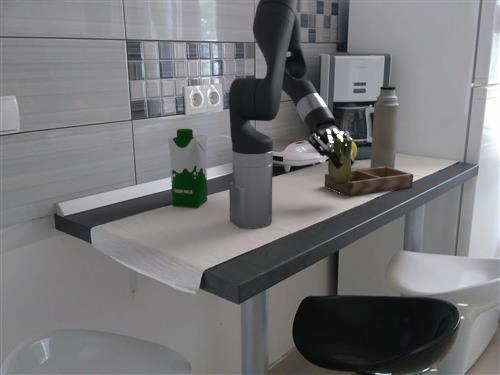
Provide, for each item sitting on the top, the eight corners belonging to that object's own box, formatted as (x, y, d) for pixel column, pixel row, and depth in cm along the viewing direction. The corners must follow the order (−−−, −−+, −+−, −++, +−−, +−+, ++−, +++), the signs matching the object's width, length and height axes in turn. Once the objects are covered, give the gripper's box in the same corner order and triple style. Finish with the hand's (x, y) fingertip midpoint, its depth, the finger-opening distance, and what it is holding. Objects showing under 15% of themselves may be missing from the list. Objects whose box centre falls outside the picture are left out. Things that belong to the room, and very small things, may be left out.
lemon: (355, 160, 185) (356, 138, 183) (357, 163, 180) (358, 141, 178) (340, 159, 186) (341, 138, 184) (341, 163, 181) (342, 141, 178)
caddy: (349, 197, 138) (350, 183, 137) (324, 186, 148) (325, 173, 147) (412, 187, 148) (413, 174, 147) (384, 178, 158) (385, 166, 157)
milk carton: (168, 207, 129) (164, 130, 124) (181, 197, 138) (179, 125, 132) (199, 209, 127) (197, 131, 122) (211, 200, 135) (210, 126, 130)
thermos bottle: (374, 166, 175) (379, 85, 168) (397, 168, 171) (403, 86, 164) (366, 170, 169) (372, 86, 161) (390, 173, 165) (396, 87, 157)
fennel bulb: (324, 182, 132) (327, 137, 129) (338, 179, 135) (340, 136, 132) (340, 186, 128) (343, 140, 125) (354, 184, 131) (357, 138, 128)
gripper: (303, 106, 128) (334, 160, 122) (341, 104, 136) (373, 154, 130) (288, 124, 134) (318, 177, 127) (326, 121, 142) (356, 170, 135)
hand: (346, 165), depth 129 cm, fingers closed on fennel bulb, 3 cm apart
